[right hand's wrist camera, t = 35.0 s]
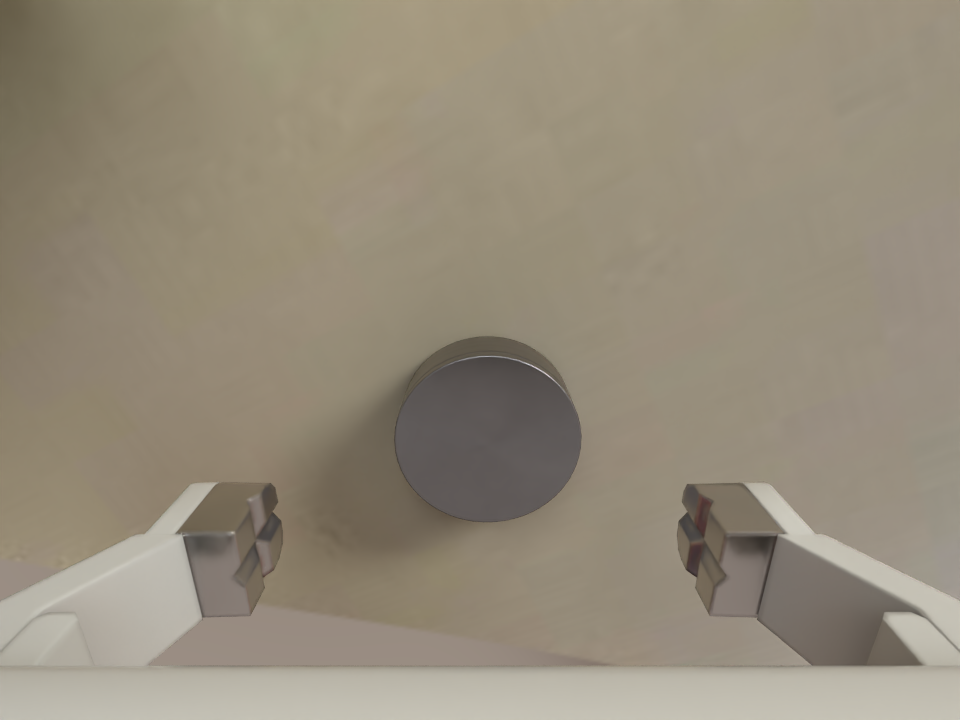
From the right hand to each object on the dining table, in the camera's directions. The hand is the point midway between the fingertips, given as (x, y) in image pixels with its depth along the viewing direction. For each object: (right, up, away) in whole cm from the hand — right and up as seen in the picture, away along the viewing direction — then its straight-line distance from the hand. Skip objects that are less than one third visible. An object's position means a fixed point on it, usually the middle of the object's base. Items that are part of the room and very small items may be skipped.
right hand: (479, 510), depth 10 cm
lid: (0, +1, +5) cm, 5 cm away
